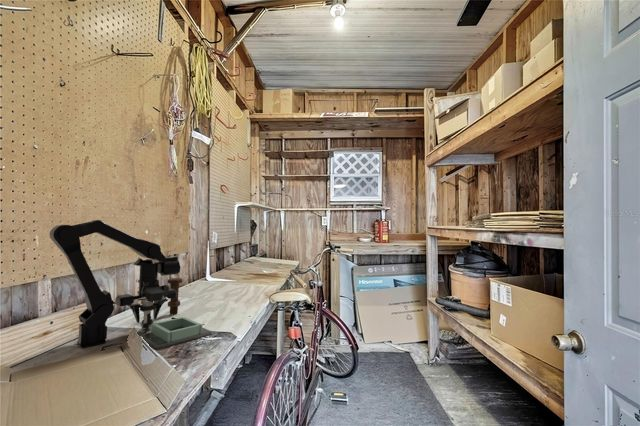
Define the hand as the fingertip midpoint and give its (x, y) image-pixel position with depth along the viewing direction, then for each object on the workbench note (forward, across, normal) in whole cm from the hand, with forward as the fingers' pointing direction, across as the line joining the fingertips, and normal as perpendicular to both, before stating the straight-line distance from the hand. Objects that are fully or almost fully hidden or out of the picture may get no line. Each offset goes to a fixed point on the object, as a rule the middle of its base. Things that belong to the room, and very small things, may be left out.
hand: (146, 320), depth 109 cm
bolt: (+4, +16, +14) cm, 22 cm away
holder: (+4, +5, -13) cm, 14 cm away
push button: (+4, 0, 0) cm, 4 cm away
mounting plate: (+4, +5, -13) cm, 14 cm away
